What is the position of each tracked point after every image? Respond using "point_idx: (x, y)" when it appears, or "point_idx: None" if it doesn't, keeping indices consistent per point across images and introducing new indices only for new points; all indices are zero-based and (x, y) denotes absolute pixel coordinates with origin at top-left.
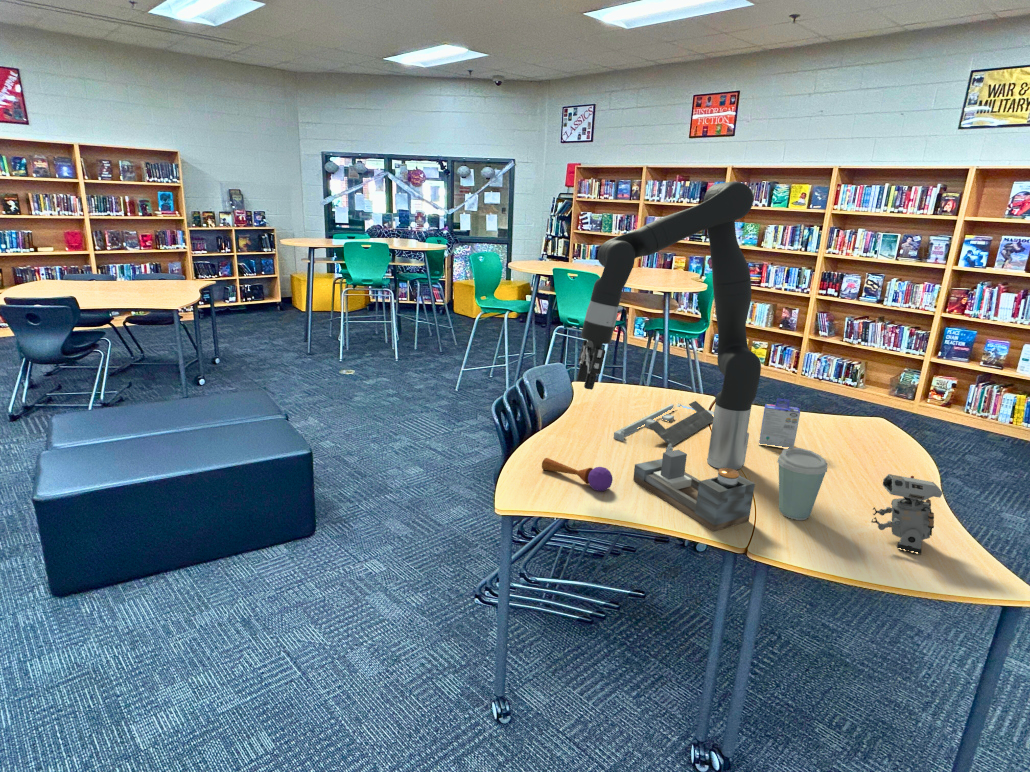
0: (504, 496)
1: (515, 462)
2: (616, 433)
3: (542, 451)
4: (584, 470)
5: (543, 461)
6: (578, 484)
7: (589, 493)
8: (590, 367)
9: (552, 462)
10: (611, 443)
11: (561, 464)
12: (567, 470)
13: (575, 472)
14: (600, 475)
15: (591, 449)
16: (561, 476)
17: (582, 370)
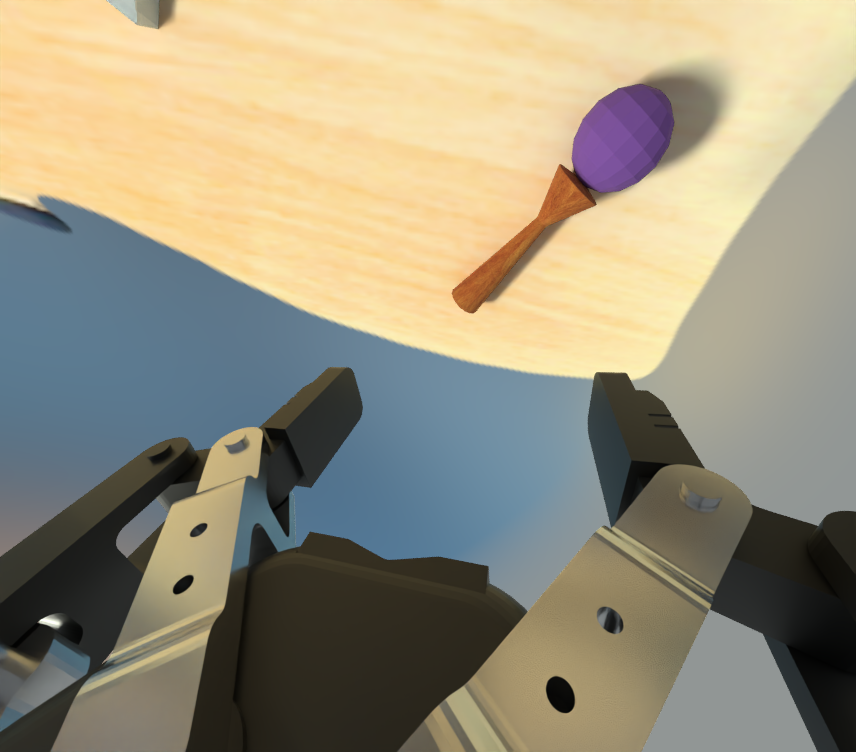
0: None
1: (438, 351)
2: (138, 10)
3: (364, 294)
4: (576, 207)
5: (473, 311)
6: None
7: None
8: (790, 671)
9: (484, 292)
10: (213, 45)
11: (499, 270)
12: (524, 252)
13: (543, 229)
14: (661, 151)
15: (301, 145)
16: None
17: (319, 448)
